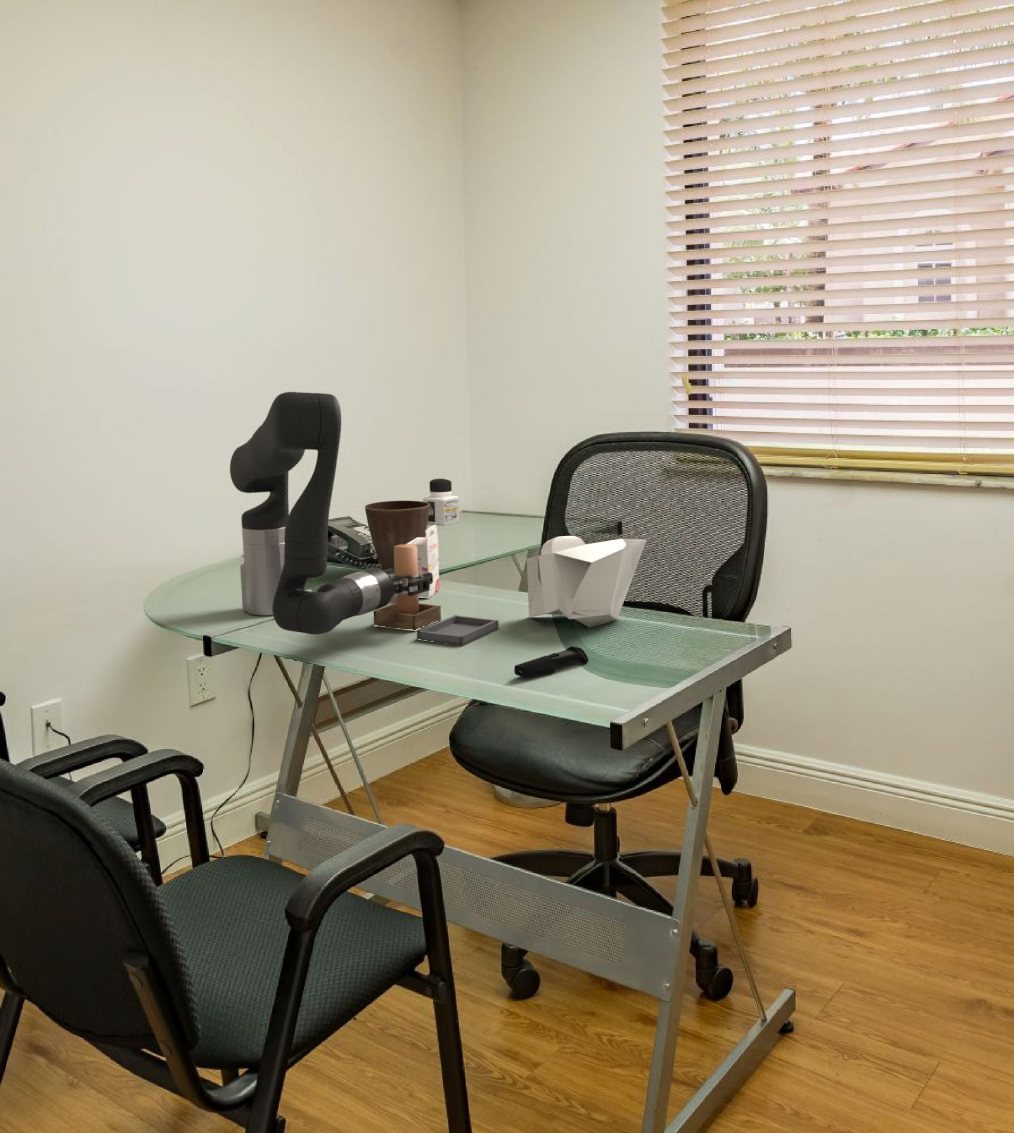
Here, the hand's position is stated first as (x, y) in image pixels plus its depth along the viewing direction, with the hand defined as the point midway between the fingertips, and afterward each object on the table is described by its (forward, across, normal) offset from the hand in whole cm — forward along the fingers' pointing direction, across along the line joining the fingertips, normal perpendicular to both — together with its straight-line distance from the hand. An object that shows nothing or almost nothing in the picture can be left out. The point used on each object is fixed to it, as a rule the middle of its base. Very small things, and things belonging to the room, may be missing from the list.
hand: (411, 575), depth 218 cm
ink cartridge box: (+21, +11, +9) cm, 26 cm away
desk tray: (-5, -13, +9) cm, 17 cm away
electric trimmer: (-18, -39, +10) cm, 44 cm away
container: (+107, +59, +9) cm, 123 cm away
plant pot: (+39, +29, +9) cm, 49 cm away
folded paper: (+15, -31, +9) cm, 36 cm away
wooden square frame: (-2, 0, +9) cm, 9 cm away
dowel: (-2, 0, +9) cm, 9 cm away
